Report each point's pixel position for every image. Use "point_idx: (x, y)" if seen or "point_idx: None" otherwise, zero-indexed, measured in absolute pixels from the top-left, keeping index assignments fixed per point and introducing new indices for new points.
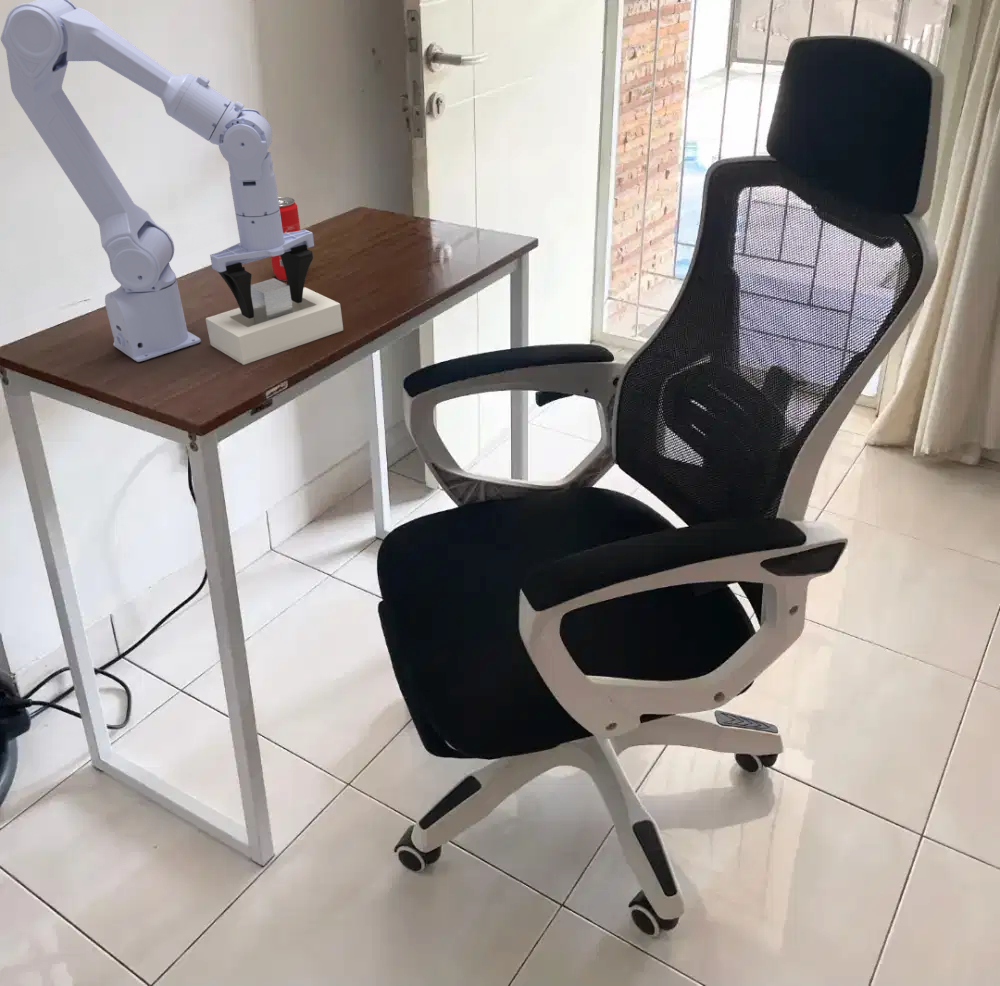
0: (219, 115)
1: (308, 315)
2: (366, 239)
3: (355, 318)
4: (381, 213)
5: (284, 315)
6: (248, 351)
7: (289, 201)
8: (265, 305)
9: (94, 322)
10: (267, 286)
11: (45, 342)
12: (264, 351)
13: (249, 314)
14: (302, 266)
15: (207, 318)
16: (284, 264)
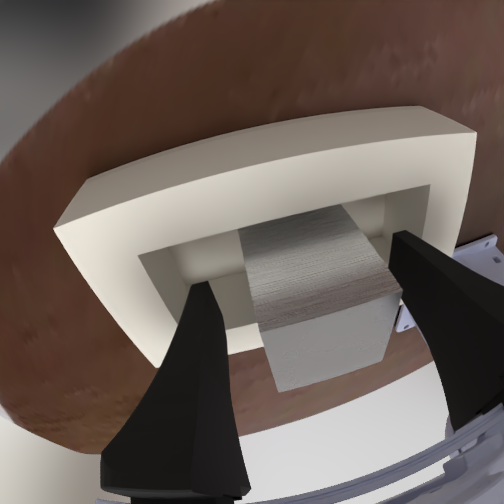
0: None
1: (196, 176)
2: (69, 430)
3: (51, 241)
4: (64, 446)
5: (290, 214)
6: (423, 115)
7: None
8: (375, 251)
9: (429, 355)
10: (344, 345)
11: None
12: (373, 113)
13: (415, 236)
14: (171, 423)
15: None
16: (236, 439)
